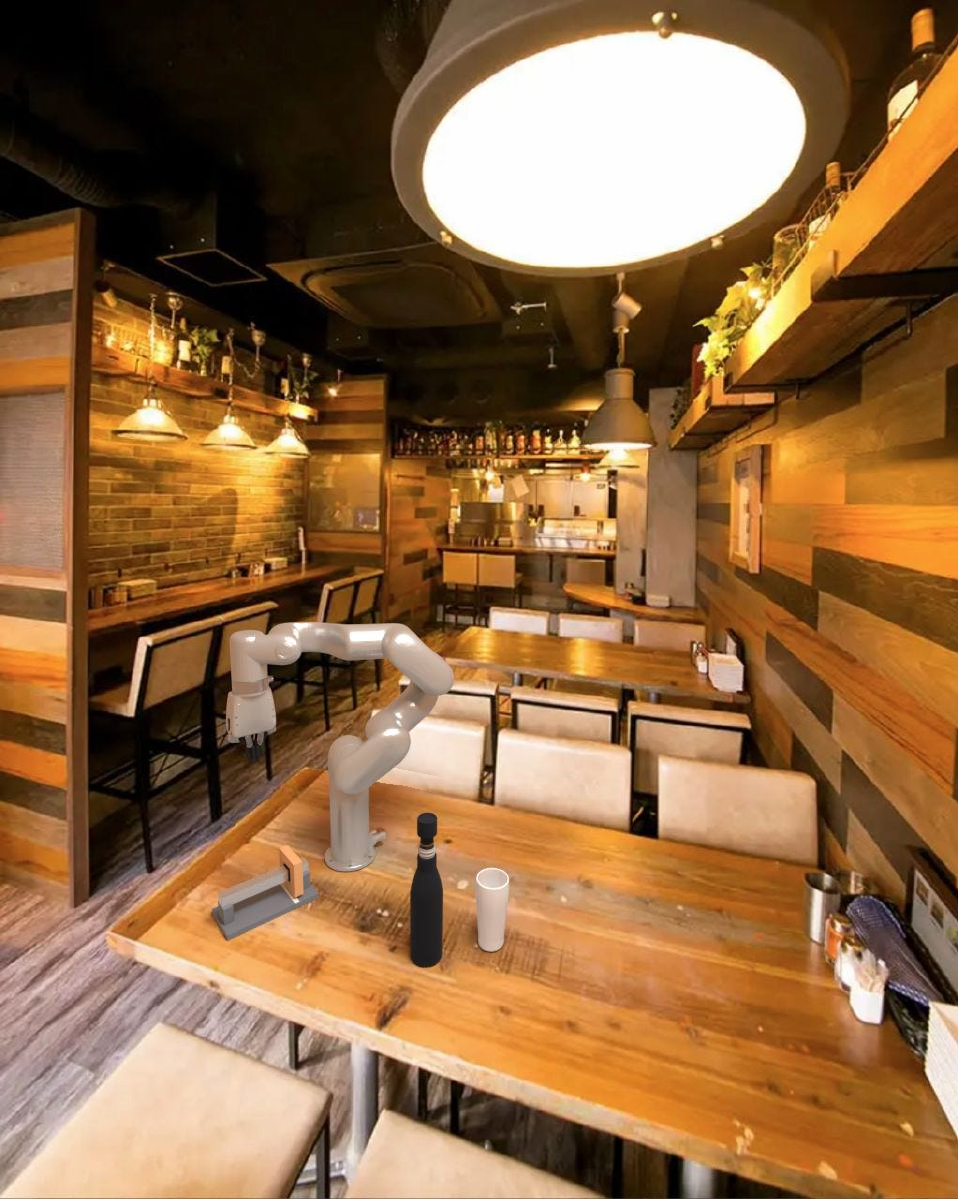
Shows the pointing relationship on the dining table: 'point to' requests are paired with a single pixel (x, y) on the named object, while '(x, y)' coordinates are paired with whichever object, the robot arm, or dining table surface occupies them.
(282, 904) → the pipe board
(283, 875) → the grey long bar
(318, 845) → the dining table surface
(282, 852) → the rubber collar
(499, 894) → the drinking glass
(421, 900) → the black bottle
